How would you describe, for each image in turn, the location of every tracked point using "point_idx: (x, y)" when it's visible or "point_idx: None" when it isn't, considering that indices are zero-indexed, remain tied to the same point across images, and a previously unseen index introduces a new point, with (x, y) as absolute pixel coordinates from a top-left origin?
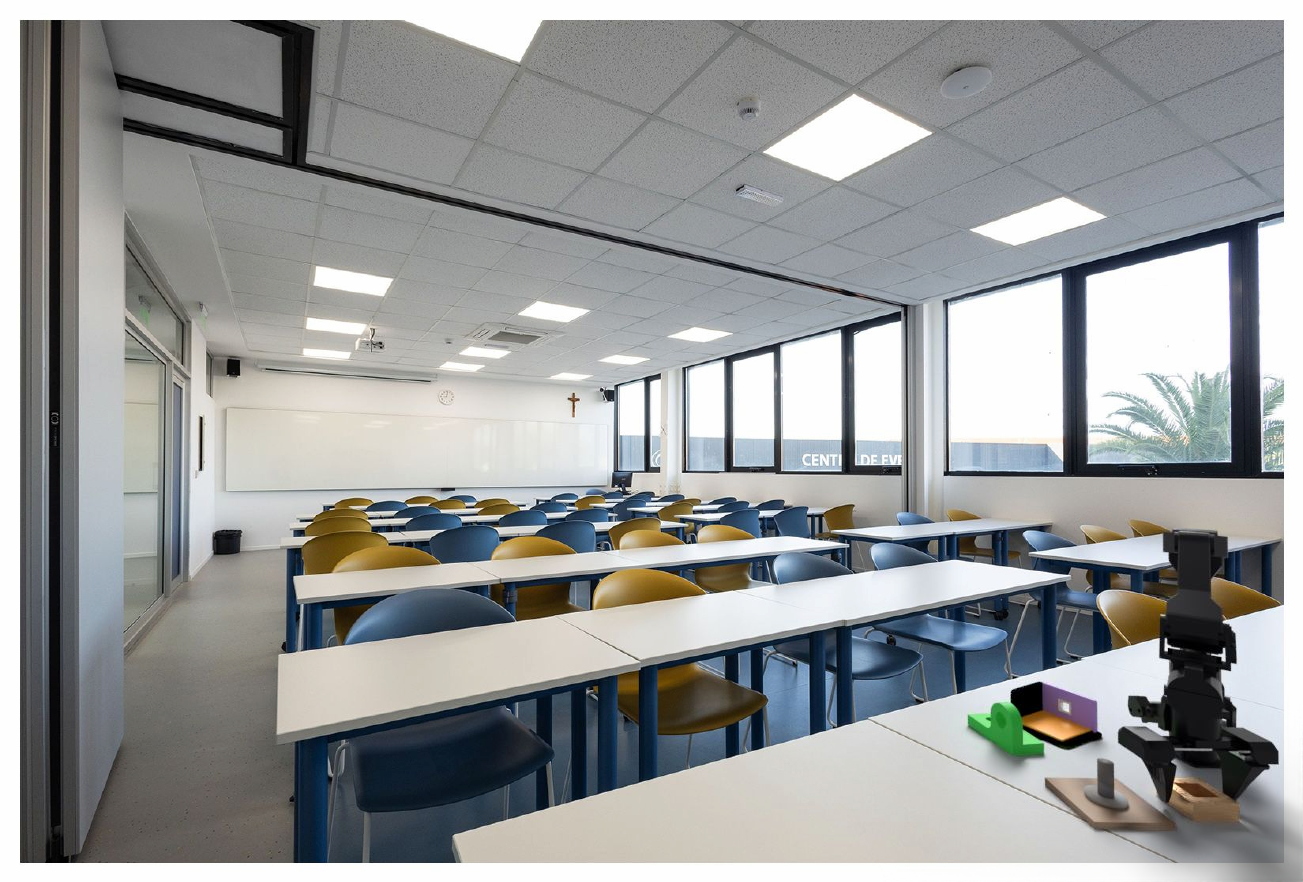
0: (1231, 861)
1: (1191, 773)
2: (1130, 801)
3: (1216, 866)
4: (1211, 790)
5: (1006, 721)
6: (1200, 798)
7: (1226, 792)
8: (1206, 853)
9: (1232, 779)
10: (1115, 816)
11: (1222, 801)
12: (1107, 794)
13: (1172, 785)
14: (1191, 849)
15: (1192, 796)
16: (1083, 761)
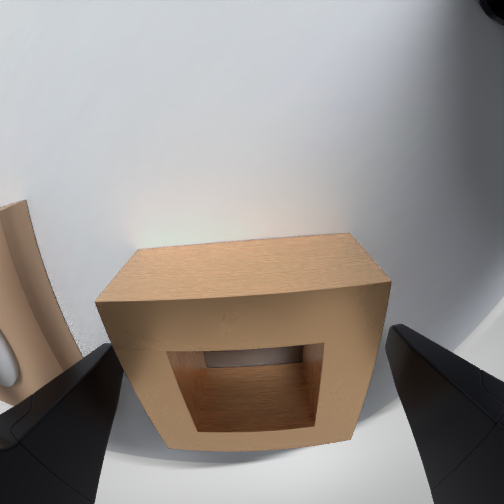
0: (187, 460)
1: (458, 36)
2: (22, 357)
3: (152, 462)
4: (330, 392)
5: None
6: (218, 436)
7: (404, 363)
8: (151, 447)
9: (436, 431)
10: (6, 392)
11: (297, 440)
12: None
13: (100, 458)
14: (128, 439)
15: (192, 428)
16: (27, 6)
